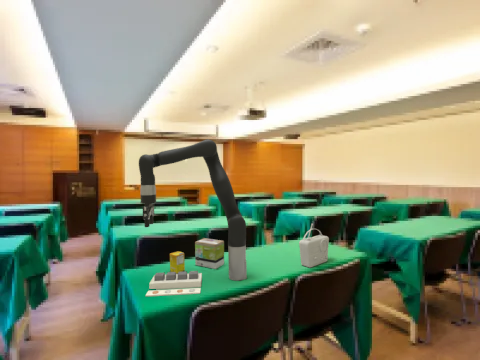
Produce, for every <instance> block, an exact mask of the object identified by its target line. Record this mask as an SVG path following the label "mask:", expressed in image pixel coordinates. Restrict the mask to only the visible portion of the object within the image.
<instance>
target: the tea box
mask: <svg viewBox="0 0 480 360" xmlns="http://www.w3.org/2000/svg"><path fill="white" fill-rule="evenodd" d="M194 249H195V251H194V255H195V256H194V258H195V259H194V260H195V262H194V263H195V266H199V267H204V268H210V269H213V270H217V269H218V268H220V267H221V266H224V264H225V241H224V240H222V239H221V240H220V239H219V240H218V239H213V238H205V237H202V238H201V239H198V240H197V241H195V242H194Z"/></svg>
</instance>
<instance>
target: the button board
mask: <svg viewBox="0 0 480 360" xmlns="http://www.w3.org/2000/svg"><path fill="white" fill-rule="evenodd" d="M154 276H155V274H154V275H153V277H152V279H151V280H150V282H149V285H148V286H149V288H148V290H149V289H156V290H171V289H190V288H201V287H202V280H203V273H202V272H198V279H189V273H187V279H185V280H178V274H176V279H175V280H166V274H165V279H164V281H155V278H154Z"/></svg>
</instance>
